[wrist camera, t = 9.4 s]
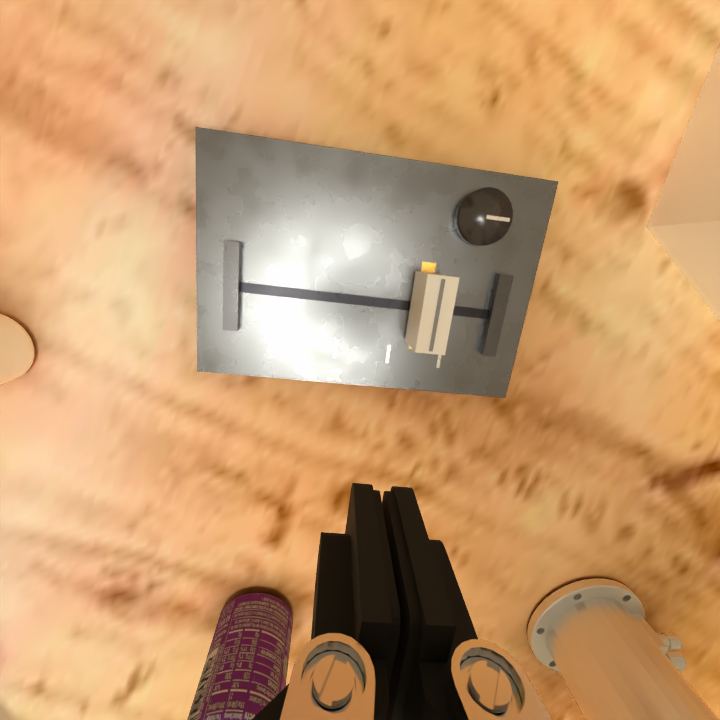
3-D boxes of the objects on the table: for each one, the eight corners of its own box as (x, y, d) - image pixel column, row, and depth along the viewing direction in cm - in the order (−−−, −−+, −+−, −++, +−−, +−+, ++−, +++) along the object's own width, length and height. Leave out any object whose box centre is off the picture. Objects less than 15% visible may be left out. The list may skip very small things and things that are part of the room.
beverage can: (233, 645, 37) (188, 819, 26) (212, 593, 35) (154, 758, 24) (300, 631, 37) (286, 798, 26) (284, 579, 35) (260, 736, 24)
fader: (443, 274, 26) (459, 277, 22) (431, 342, 27) (445, 355, 24) (415, 270, 25) (428, 274, 22) (404, 340, 27) (415, 352, 23)
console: (542, 186, 27) (569, 178, 24) (494, 388, 31) (512, 403, 28) (206, 136, 24) (187, 119, 21) (206, 363, 29) (190, 376, 26)
